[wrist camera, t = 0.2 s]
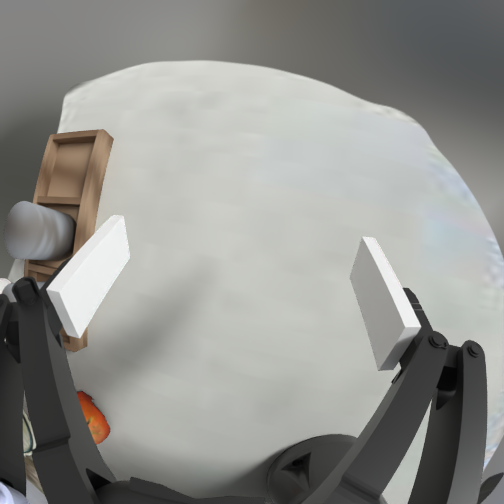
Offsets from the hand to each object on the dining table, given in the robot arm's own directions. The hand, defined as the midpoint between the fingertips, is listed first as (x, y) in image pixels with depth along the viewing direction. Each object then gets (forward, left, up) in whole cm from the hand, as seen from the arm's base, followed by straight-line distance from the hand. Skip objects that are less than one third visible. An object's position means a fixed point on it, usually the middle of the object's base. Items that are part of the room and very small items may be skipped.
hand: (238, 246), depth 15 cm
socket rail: (0, +23, -16) cm, 28 cm away
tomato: (-25, +19, -16) cm, 35 cm away
